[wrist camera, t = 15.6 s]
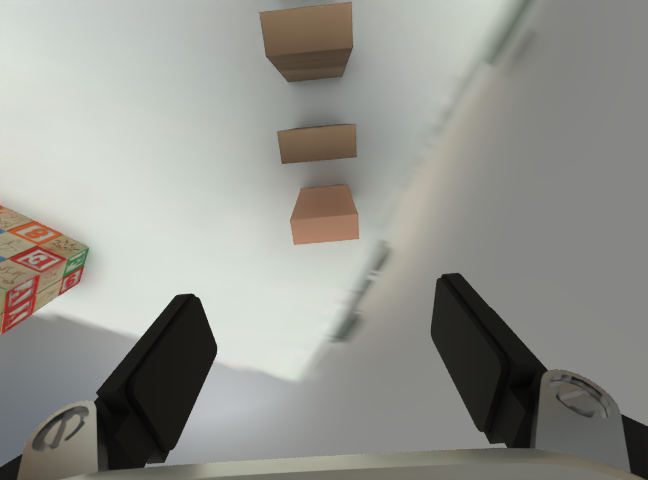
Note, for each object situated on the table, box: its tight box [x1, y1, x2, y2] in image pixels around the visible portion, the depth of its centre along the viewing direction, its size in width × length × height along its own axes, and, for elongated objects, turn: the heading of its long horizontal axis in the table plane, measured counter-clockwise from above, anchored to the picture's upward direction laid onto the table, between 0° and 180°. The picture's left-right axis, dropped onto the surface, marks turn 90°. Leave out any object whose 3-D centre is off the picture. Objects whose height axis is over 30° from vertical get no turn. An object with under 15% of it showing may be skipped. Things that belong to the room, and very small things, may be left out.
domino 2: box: [277, 124, 356, 164], centre depth 21 cm, size 2×5×10 cm, turn 95°
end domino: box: [290, 184, 359, 245], centre depth 24 cm, size 2×5×10 cm, turn 96°
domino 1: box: [259, 2, 353, 82], centre depth 19 cm, size 2×5×10 cm, turn 95°
